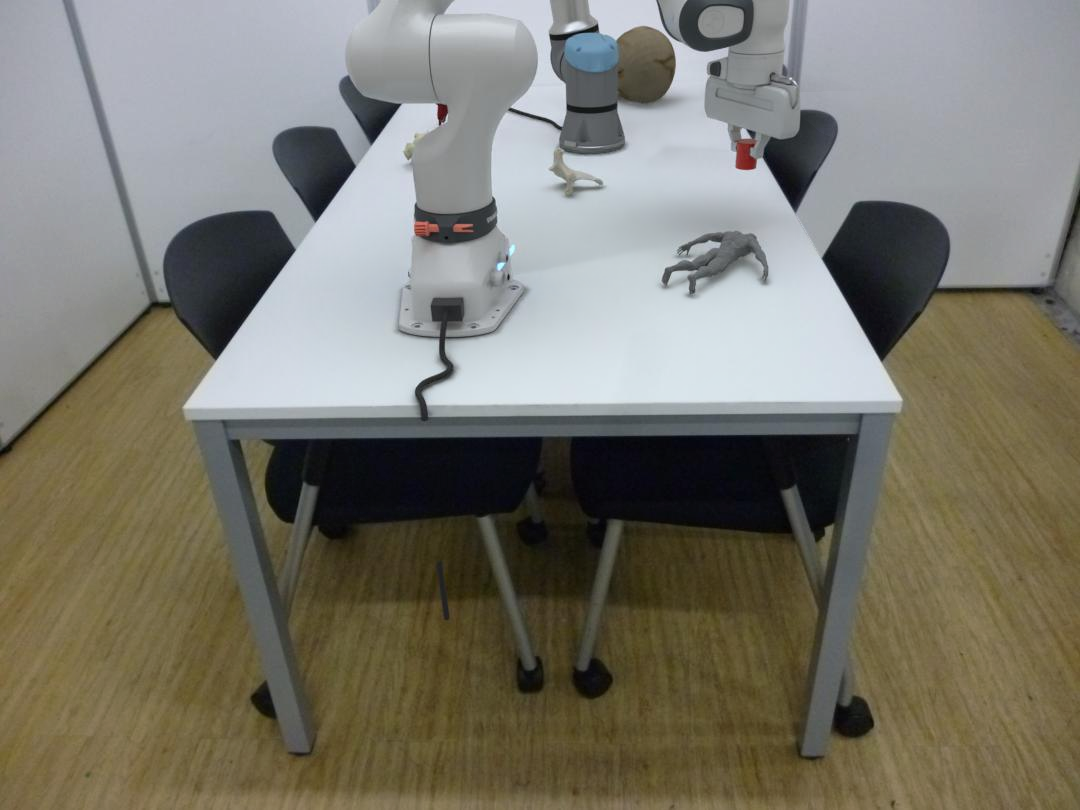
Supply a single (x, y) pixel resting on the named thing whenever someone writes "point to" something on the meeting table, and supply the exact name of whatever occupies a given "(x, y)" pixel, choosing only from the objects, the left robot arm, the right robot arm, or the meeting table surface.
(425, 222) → the left robot arm
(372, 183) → the meeting table surface
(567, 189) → the bone
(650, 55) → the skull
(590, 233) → the meeting table surface
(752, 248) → the figurine
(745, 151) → the tin
